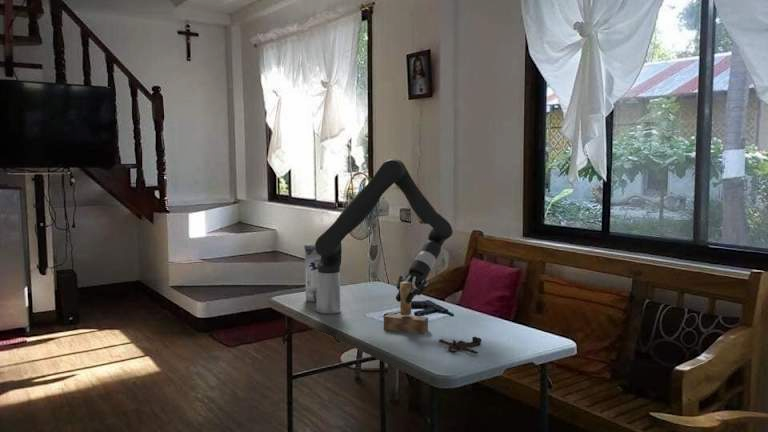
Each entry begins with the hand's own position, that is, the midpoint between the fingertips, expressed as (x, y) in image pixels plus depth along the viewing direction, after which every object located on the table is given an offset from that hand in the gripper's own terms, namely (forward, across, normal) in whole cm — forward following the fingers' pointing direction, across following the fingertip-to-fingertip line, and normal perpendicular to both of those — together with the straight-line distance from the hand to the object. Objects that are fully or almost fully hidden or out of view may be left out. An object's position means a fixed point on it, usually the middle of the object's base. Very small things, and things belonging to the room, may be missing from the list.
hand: (402, 301), depth 230 cm
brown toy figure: (+10, +29, +7) cm, 32 cm away
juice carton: (0, -62, +17) cm, 65 cm away
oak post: (+2, 0, +5) cm, 6 cm away
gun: (-12, -13, +29) cm, 34 cm away
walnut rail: (+7, 0, +9) cm, 12 cm away
